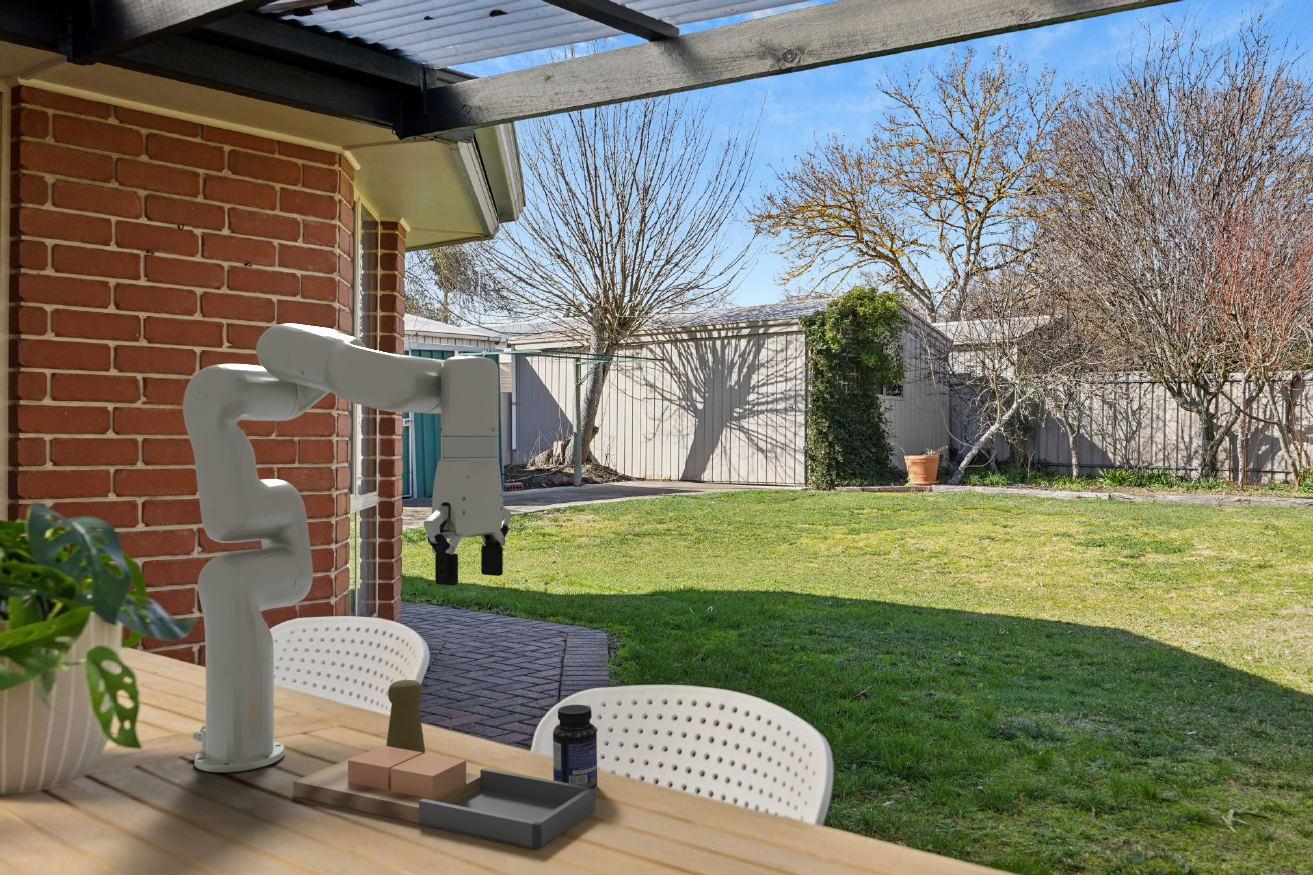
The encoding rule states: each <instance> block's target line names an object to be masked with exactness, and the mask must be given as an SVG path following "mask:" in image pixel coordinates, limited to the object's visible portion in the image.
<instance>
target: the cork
mask: <svg viewBox="0 0 1313 875" xmlns="http://www.w3.org/2000/svg"><path fill="white" fill-rule="evenodd" d="M422 695H423V688H422V684H421V683H420V682H419V681H417V680H414V679H400V680H397V681H396V680H395V681H394V682H392V683H391V684H390V685H389V687H388V690H387V697H388V701H389V703H391V706H390V707H391V708H390V714H389V723H388V729H387V730H388V731H387V737H386V738H387V739H386V745H385V746H389V747H394V748H400V749H406V750H411V751H417V752H423V754H424V753H426V747H425V739H424V733H423V726H422V718H421V712H420V704H419V703H420V700H421V699H422Z"/></svg>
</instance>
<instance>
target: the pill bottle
mask: <svg viewBox="0 0 1313 875" xmlns="http://www.w3.org/2000/svg"><path fill="white" fill-rule="evenodd" d="M592 717H593V714H592V708H591V706H589V705H587V704H586V705H585V704H569V705H568V704H567V705H564V706H561V707H559V708H558V709H557V719H558V720H559V724H557V725H556V726H554V729H553V732H552V762H553V764H552V768H553V769H552V770H553V779H552V780H553V781H559V782H564V783H570V784H576V785H581V786H587V787H592V788H595V789H596V788H597V787H598V746H597V745H598V740H597V739H598V736H597V734H598V733H597V728H596V726H595V725H594V724H593V723H591V719H592Z"/></svg>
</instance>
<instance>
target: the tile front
mask: <svg viewBox="0 0 1313 875" xmlns="http://www.w3.org/2000/svg"><path fill="white" fill-rule="evenodd" d="M466 773H467V759H462V758H457V757H450V756H444V755H439V754H434V753H427V752H424V753H423V754H422V755H420V756H417V757H415V758H413V759H411V760H408V761H406V762H404V763H402V764H399V765H397V766H395V767H392V768H391V791H394V792H399V793H404V794H409V795H414V796H419V797H424V798H429V799H434V798H436V797H438V796H440V795H442V794H444V793H446V792H448V791H450V790H452V789H454V788H456V787H458V786H460V785H462V784H464V783H466Z"/></svg>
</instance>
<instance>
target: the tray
mask: <svg viewBox="0 0 1313 875" xmlns="http://www.w3.org/2000/svg"><path fill="white" fill-rule="evenodd" d="M479 772H480V774H479V775H480V790H478V791H476V792H475V793H473V794H471V795H469V796H467V797H465V798H463V799H461V800H460V801H458V802H456V803H454V804H447V803H442V802H437V801H432V800H428V799H421V800H419V823H418V824H419V826H425V827H430V828H433V829H438V830H442V831H447V832H452V833H456V834H461V835H466V836H469V837H474V838H480V839H482V840H488V841H493V842H496V843H497V842H498V843H501V842H503V844H507V845H511V844H513V845H512V846H515V845H516V847H520V846H522V847H521V848H525V849H529V850H533V851H534V850H535V851H540V850H541V849H542V848H544V847H545V846H547V845H548V844H549V843H551V842H552V841H554V840H555V839H557V838H558V837H560V836H561V835H563V834H564V833H566V832H567V831H568V830H570V829H572V827H574V826H576V825H578V824H579V823H580V822H581V821H583V820H584V819H586V818H587V817H589V816H590V815H592V814H593V813H595V812H596V788H592V787H587V786H581V785H576V784H570V783H564V782H559V781H554V779H548V778H541V777H537V776H531V775H525V774H518V773H513V772H507V771H504V770H498V769H491V768H485V767H483V768H480V770H479ZM562 833H563V834H562ZM559 835H560V836H559ZM546 844H547V845H546ZM543 846H544V847H543ZM540 848H541V849H540Z"/></svg>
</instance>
